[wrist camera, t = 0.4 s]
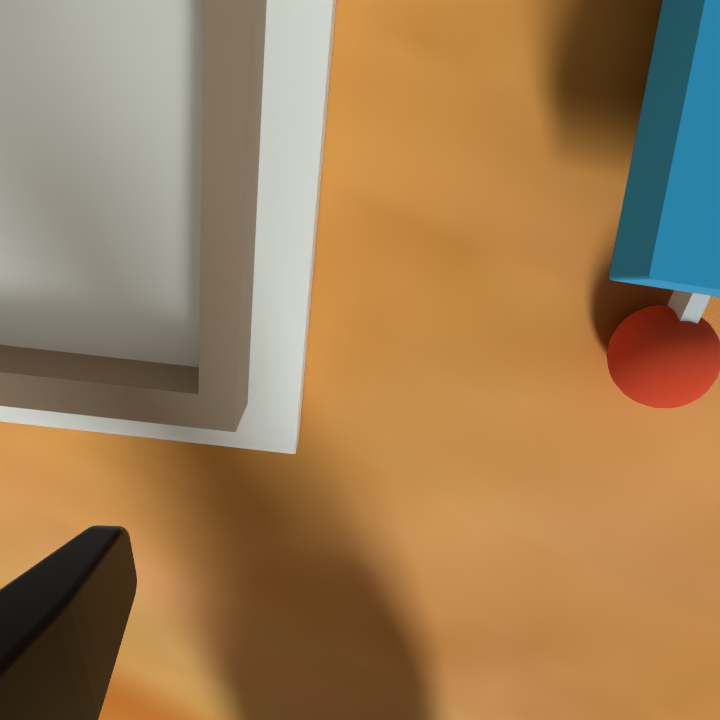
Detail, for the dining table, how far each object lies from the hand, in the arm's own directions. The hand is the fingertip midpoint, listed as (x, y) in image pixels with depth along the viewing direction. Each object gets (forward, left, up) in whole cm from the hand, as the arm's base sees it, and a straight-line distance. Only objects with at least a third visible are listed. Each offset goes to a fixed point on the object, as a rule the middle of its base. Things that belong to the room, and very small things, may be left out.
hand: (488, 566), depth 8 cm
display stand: (+2, +13, -14) cm, 19 cm away
